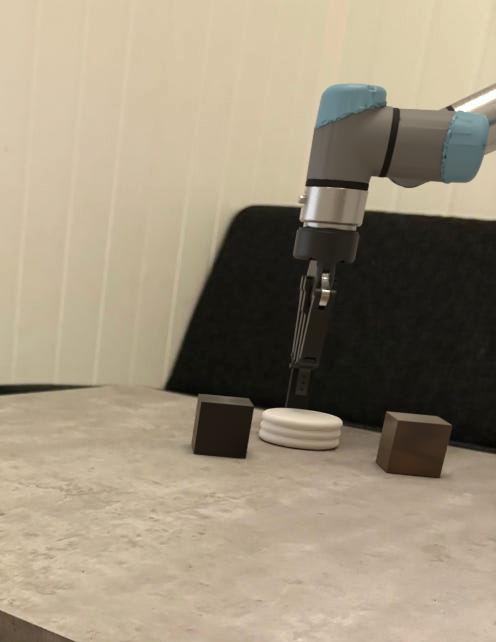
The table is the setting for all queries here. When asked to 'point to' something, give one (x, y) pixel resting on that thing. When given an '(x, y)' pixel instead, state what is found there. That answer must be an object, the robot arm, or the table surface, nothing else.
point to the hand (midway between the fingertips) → (294, 418)
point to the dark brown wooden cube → (413, 444)
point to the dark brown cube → (222, 426)
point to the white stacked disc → (300, 428)
